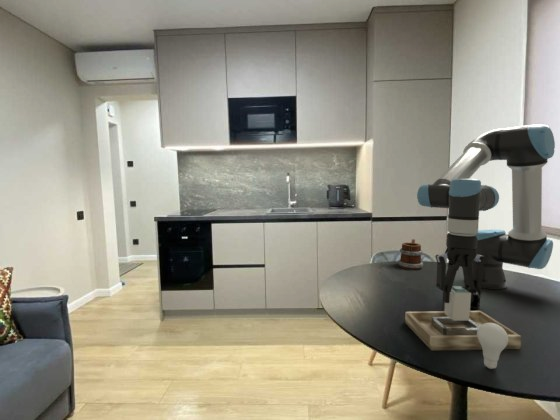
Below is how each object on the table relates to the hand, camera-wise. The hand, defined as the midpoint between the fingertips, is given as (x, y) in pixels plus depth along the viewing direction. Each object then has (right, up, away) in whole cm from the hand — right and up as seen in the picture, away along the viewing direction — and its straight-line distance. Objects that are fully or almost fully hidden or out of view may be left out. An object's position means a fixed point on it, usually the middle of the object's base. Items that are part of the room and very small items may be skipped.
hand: (456, 312), depth 91 cm
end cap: (+13, -4, +20) cm, 25 cm away
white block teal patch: (0, -1, 0) cm, 1 cm away
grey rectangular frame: (0, -6, +1) cm, 6 cm away
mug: (+16, +1, +70) cm, 72 cm away
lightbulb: (-1, -8, -16) cm, 18 cm away
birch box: (0, -6, 0) cm, 6 cm away
